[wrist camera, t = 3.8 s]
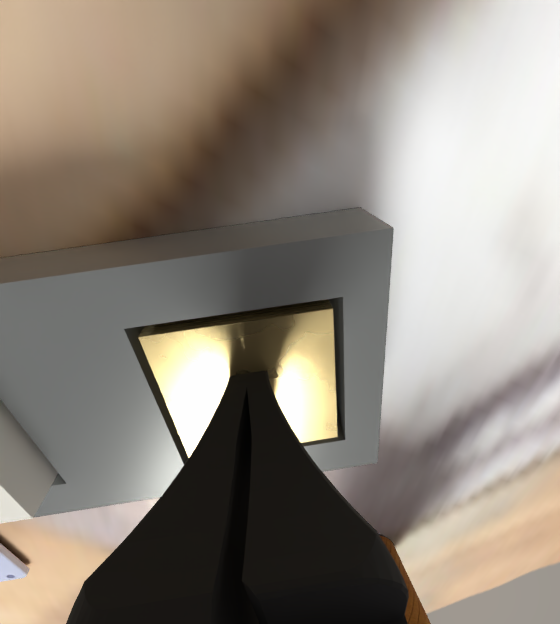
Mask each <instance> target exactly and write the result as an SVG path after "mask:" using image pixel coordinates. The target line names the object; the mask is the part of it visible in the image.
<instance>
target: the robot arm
mask: <svg viewBox="0 0 560 624" xmlns="http://www.w3.org/2000/svg"><path fill="white" fill-rule="evenodd" d="M28 572H29V567H28V566H26V565H25V564H24V563H23V562H22V561H21V560H19V559H18V558H17V557H16V556H15V555H14V554H12V553H11V552H10V551H9V550H8V549H7V548H5V547H4V546H3V545H2V544H1V543H0V582H1V581H7V580H13V579H20V578H24V577H25V576H27V574H28ZM408 598H409V594H408V589H407V586H406V583H405V581H404V579H403V576H402V574H401V572H400V570H399V568H398V566H397V564H396V562H395V560H394V559H393V557H392V555H391V554H390V552H389V550H388V549H387V547H386V545H385V544H384V542H383V541H382V539H381V537H380V536H379V534H378V533H377V531H376V530H375V529H374V528H373V527H372V526H371V525H370V524H369V523H368V522H367V521H366V520H365V519H364V518H363V517H362V516H361V515H360V514H359V513H358V512H357V511H356V510H355V509H354V508H353V507H352V506H351V505H350V504H349V503H348V501H347V500H346V499H345V498H344V497H343V496H342V495H341V494H340V493H339V491H338V490H337V489H336V488H335V487H334V486H333V484H332V483H331V482H330V481H329V479H328V478H327V477H326V476H325V475H324V473H323V472H322V471H321V470H320V469H319V467H318V466H317V465H316V463H315V462H314V461H313V459H312V458H311V457H310V455H309V454H308V452H307V451H306V450H305V448H304V447H303V445H302V444H301V442H300V441H299V439H298V438H297V436H296V434H295V433H294V431H293V430H292V428H291V426H290V424H289V423H288V421H287V419H286V417H285V416H284V414H283V412H282V410H281V408H280V406H279V404H278V402H277V399H276V397H275V395H274V392H273V390H272V387H271V384H270V380H269V374H268V372H267V371H265V370H264V371H258V372H251V373H245V374H238V375H232V376H231V377H230V378H229V380H228V383H227V386H226V388H225V391H224V393H223V395H222V398H221V400H220V402H219V404H218V406H217V408H216V410H215V412H214V414H213V416H212V419H211V421H210V422H209V424H208V426H207V428H206V430H205V432H204V433H203V435H202V437H201V439H200V440H199V442H198V444H197V446H196V447H195V449H194V450H193V452H192V454H191V455H190V457H189V458H188V460H187V461H186V463H185V464H184V466H183V467H182V469H181V470H180V472H179V473H178V475H177V476H176V477H175V479H174V480H173V481H172V483H171V484H170V485H169V487H168V488H167V490H166V491H165V492H164V493H163V495H162V496H161V497H160V499H159V500H158V501H157V502H156V504H155V505H154V506H153V507H152V508H151V510H150V511H149V512H148V513H147V514H146V516H145V517H144V518H143V519H142V520H141V521H140V523H139V524H138V525H137V526H136V527H135V529H134V530H133V531H132V532H131V533H130V534H129V535H128V537H127V538H126V539H125V540H124V541H123V542H122V543H121V544H120V545H119V546H118V547H117V548H116V549H115V550H114V552H113V553H112V554H111V555H110V556H109V557H108V558H107V559H106V560H105V561H104V562H103V563H102V564H101V565H100V566H99V567H98V568H97V569H96V570H95V571H94V572H93V573H92V574H91V576H90V577H89V578H88V579H87V580H86V581H85V582H84V584H83V586H82V589H81V591H80V593H79V595H78V597H77V599H76V601H75V603H74V605H73V608H72V610H71V613H70V615H69V618H68V620H67V623H66V624H408V623H407V620H406V617H405V611H406V607H407V602H408Z"/></svg>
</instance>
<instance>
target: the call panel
mask: <svg viewBox="0 0 560 624" xmlns="http://www.w3.org/2000/svg"><path fill="white" fill-rule="evenodd" d="M392 242H393V227H391V226H390V225H388V224H386V223H385V222H383V221H382V220H380V219H378V218H377V217H375V216H373V215H372V214H370V213H369V212H367V211H365V210H364V209H362V208H361V207H360V208H353V209H346V210H339V211H332V212H324V213H317V214H310V215H303V216H296V217H289V218H282V219H275V220H267V221H260V222H253V223H246V224H239V225H232V226H225V227H218V228H210V229H203V230H196V231H189V232H182V233H175V234H168V235H161V236H153V237H146V238H139V239H132V240H125V241H118V242H111V243H103V244H96V245H89V246H82V247H75V248H68V249H61V250H54V251H46V252H39V253H32V254H25V255H18V256H11V257H4V258H0V400H1V401H2V402H3V403H4V405H5V406H6V407H7V409H8V410H9V411H10V412H11V414H12V415H13V416H14V417H15V419H16V420H17V421H18V422H19V424H20V425H21V426H22V428H23V429H24V430H25V431H26V433H27V434H28V435H29V436H30V438H31V439H32V440H33V441H34V443H35V444H36V445H37V447H38V448H39V449H40V450H41V452H42V453H43V454H44V455H45V457H46V458H47V459H48V460H49V462H50V463H51V464H52V466H53V467H54V468H55V469H56V471H57V472H58V474H57V476H56V478H55V480H54V482H53V483H52V485H51V487H50V489H49V490H48V492H47V494H46V496H45V498H44V499H43V501H42V503H41V505H40V506H39V508H38V510H37V512H36V513H35V515H34V517H40V516H46V515H52V514H59V513H65V512H71V511H78V510H84V509H90V508H97V507H103V506H109V505H116V504H122V503H128V502H134V501H141V500H147V499H153V498H160V497H161V496H162V495H163V493H164V492H165V491H166V490H167V488H168V487H169V485H170V484H171V483H172V481H173V480H174V479H175V477H176V476H177V475H178V473H179V472H180V470H181V469H182V467H183V466H184V464H185V463H186V461H187V460H188V458H189V457H188V454H187V452H186V450H185V447H184V445H183V442H182V440H181V438H180V435H179V433H178V431H177V428H176V426H175V423H174V421H173V419H172V416H171V414H170V412H169V409H168V407H167V404H166V402H165V400H164V397H163V395H162V393H161V390H160V388H159V385H158V383H157V381H156V378H155V376H154V374H153V371H152V369H151V366H150V364H149V362H148V359H147V357H146V355H145V352H144V350H143V347H142V345H141V343H140V340H139V338H138V337H139V335H140V333H141V332H142V330H143V328H144V326H147V325H154V324H161V323H168V322H174V321H181V320H188V319H195V318H202V317H209V316H215V315H222V314H229V313H236V312H243V311H250V310H256V309H263V308H270V307H277V306H284V305H291V304H297V303H304V302H311V301H318V300H325V299H328V300H329V302H330V304H331V306H332V308H333V321H334V350H335V379H336V408H337V437H334V438H328V439H321V440H315V441H309V442H302V443H301V444H302V445H303V447H304V448H305V450H306V451H307V452H308V454H309V455H310V457H311V458H312V459H313V461H314V462H315V463H316V465H317V466H318V467H319V469H320V470H321V471H322V472H324V471H330V470H337V469H343V468H349V467H356V466H362V465H368V464H375V463H378V448H379V433H380V419H381V404H382V389H383V375H384V360H385V345H386V331H387V316H388V301H389V286H390V272H391V257H392Z"/></svg>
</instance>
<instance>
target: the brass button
mask: <svg viewBox="0 0 560 624" xmlns="http://www.w3.org/2000/svg"><path fill="white" fill-rule="evenodd" d="M138 338H139V340H140V343H141V345H142V347H143V350H144V352H145V355H146V357H147V359H148V362H149V364H150V366H151V369H152V371H153V374H154V376H155V378H156V381H157V383H158V385H159V388H160V390H161V393H162V395H163V397H164V400H165V402H166V404H167V407H168V409H169V412H170V414H171V416H172V419H173V421H174V423H175V426H176V428H177V431H178V433H179V435H180V438H181V440H182V442H183V445H184V447H185V450H186V452H187V454H188V457H190V455H191V454H192V452H193V450H194V449H195V447H196V446H197V444H198V442H199V440H200V439H201V437H202V435H203V433H204V432H205V430H206V428H207V426H208V424H209V422H210V421H211V419H212V416H213V414H214V412H215V410H216V408H217V406H218V404H219V402H220V400H221V398H222V395H223V393H224V391H225V388H226V386H227V383H228V380H229V378H230V377H231V376H232V375H238V374H245V373H251V372H258V371H264V370H265V371H267V372H268V374H269V380H270V384H271V387H272V390H273V392H274V395H275V397H276V399H277V402H278V404H279V406H280V408H281V410H282V412H283V414H284V416H285V417H286V419H287V421H288V423H289V424H290V426H291V428H292V430H293V431H294V433H295V434H296V436H297V438H298V439H299V441H300V442H301V443H302V442H309V441H315V440H321V439H328V438H334V437H337V408H336V379H335V350H334V321H333V308H332V306H331V304H330V302H329V300H328V299H325V300H318V301H311V302H304V303H297V304H291V305H284V306H277V307H270V308H263V309H256V310H250V311H243V312H236V313H229V314H222V315H215V316H209V317H202V318H195V319H188V320H181V321H174V322H168V323H161V324H154V325H147V326H144V328H143V330H142V332H141V333H140V335H139V337H138Z"/></svg>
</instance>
